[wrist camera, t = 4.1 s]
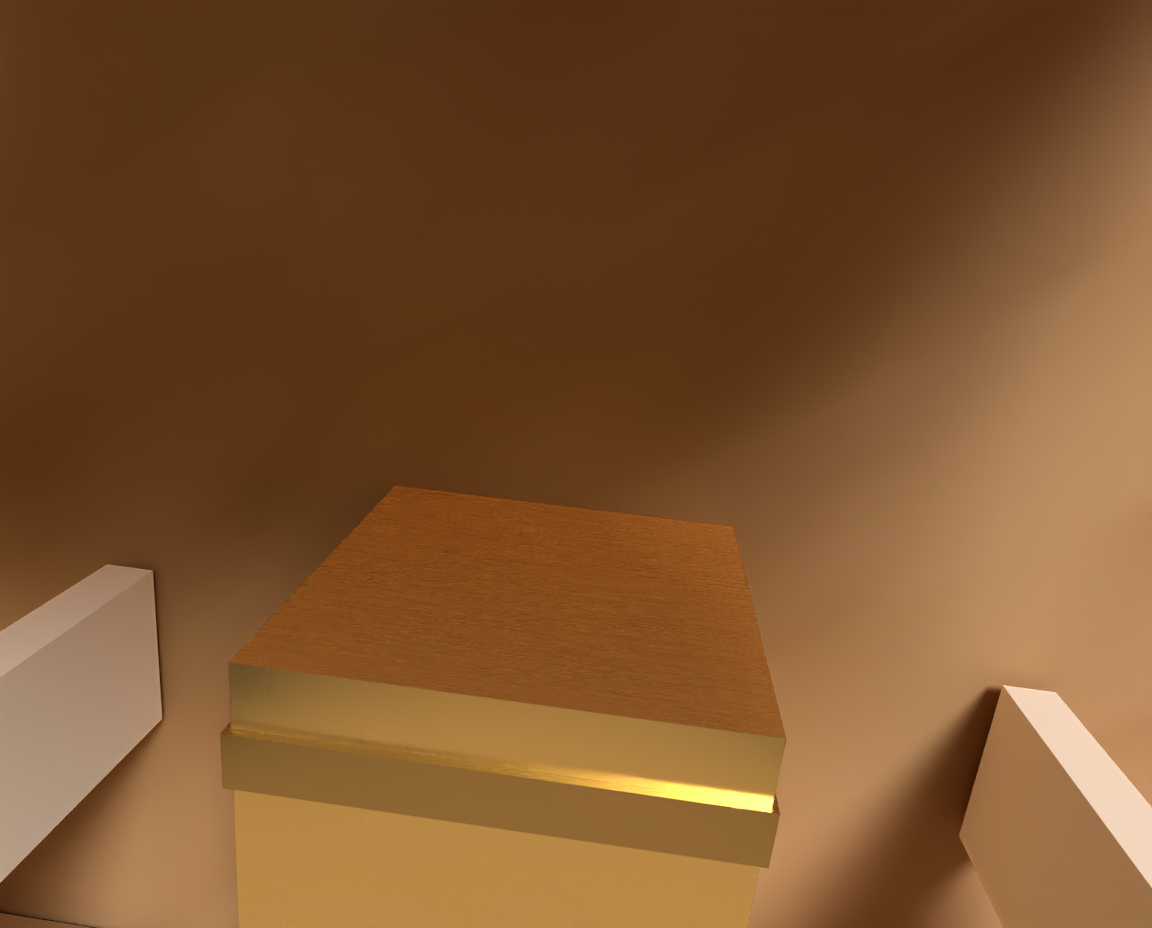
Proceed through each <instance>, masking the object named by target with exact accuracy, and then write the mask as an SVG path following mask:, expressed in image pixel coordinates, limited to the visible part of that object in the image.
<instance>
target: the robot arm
mask: <svg viewBox="0 0 1152 928" xmlns="http://www.w3.org/2000/svg"><path fill="white" fill-rule="evenodd" d="M161 720H162V707H161V691H160V675H159V659H158V644H157V628H156V612H155V596H154V581H153V570H146V569H138V568H131V567H124V566H116V565H109V564H107V565H105V566H103V567H102V568H100V569H99V570H97V571H95V572H94V573H92V574H91V575H89V576H88V577H86V578H84V579H83V580H81V581H80V582H78V583H76V584H75V585H73V586H72V587H70V588H68V589H67V590H65V591H64V592H62V593H61V594H59V595H57V596H56V597H54V598H53V599H51V600H49V601H48V602H46V603H45V604H43V605H42V606H40V607H38V608H37V609H35V610H34V611H32V612H30V613H29V614H27V615H26V616H24V617H22V618H21V619H19V620H18V621H16V622H15V623H13V624H11V625H10V626H8V627H7V628H5V629H3V630H2V631H0V883H1V882H2V881H3V880H4V879H5V878H6V876H7V875H8V874H9V873H10V872H11V871H12V870H13V869H14V868H15V867H16V866H17V865H18V864H19V863H20V862H21V861H22V860H23V859H24V858H25V857H26V856H27V855H28V854H29V853H30V852H31V851H32V850H33V849H34V848H35V847H36V846H37V845H38V844H39V843H40V842H41V841H42V840H43V839H44V838H45V837H46V836H47V835H48V834H49V833H50V832H51V831H52V830H53V829H54V828H55V827H56V826H57V825H58V824H59V823H60V822H61V821H62V820H63V819H64V818H65V817H66V816H67V815H68V814H69V813H70V812H71V811H72V810H73V809H74V808H75V807H76V806H77V805H78V804H79V803H80V802H81V801H82V800H83V799H84V798H85V797H86V796H87V794H88V793H89V792H90V791H91V790H92V789H93V788H94V787H95V786H96V785H97V784H98V783H99V782H100V781H101V780H102V779H103V778H104V777H105V776H106V775H107V774H108V773H109V772H110V771H111V770H112V769H113V768H114V767H115V766H116V765H117V764H118V763H119V762H120V761H121V760H122V759H123V758H124V757H125V756H126V755H127V754H128V753H129V752H130V751H131V750H132V749H133V748H134V747H135V746H136V745H137V744H138V743H139V742H140V741H141V740H142V739H143V738H144V737H145V736H146V735H147V734H148V733H149V732H150V731H151V730H152V729H153V728H154V727H155V726H156V725H157V724H158V723H159V722H160V721H161ZM959 837H960V839H961V841H962V843H963V845H964V847H965V849H966V851H967V854H968V856H969V858H970V860H971V862H972V864H973V866H974V868H975V870H976V872H977V874H978V876H979V878H980V880H981V882H982V884H983V887H984V889H985V891H986V893H987V895H988V897H989V899H990V901H991V903H992V905H993V907H994V909H995V911H996V913H997V915H998V917H999V919H1000V922H1001V924H1002V926H1003V928H1152V807H1151V806H1150V805H1149V803H1148V802H1147V801H1146V800H1145V799H1144V798H1143V796H1142V795H1141V794H1140V793H1139V792H1138V790H1137V789H1136V788H1135V787H1134V786H1133V784H1132V783H1131V782H1130V781H1129V780H1128V778H1127V777H1126V776H1125V775H1124V774H1123V772H1122V771H1121V770H1120V769H1119V768H1118V766H1117V765H1116V764H1115V763H1114V762H1113V760H1112V759H1111V758H1110V757H1109V756H1108V754H1107V753H1106V752H1105V751H1104V750H1103V748H1102V747H1101V746H1100V745H1099V744H1098V742H1097V741H1096V740H1095V739H1094V738H1093V736H1092V735H1091V734H1090V733H1089V732H1088V730H1087V729H1086V728H1085V727H1084V726H1083V724H1082V723H1081V722H1080V721H1079V720H1078V718H1077V717H1076V716H1075V715H1074V714H1073V712H1072V711H1071V710H1070V709H1069V708H1068V706H1067V705H1066V704H1065V703H1064V702H1063V700H1062V699H1061V698H1060V697H1059V696H1058V695H1057V693H1056V692H1049V691H1042V690H1034V689H1027V688H1020V687H1012V686H1005V685H1003V686H1002V690H1001V693H1000V697H999V700H998V704H997V707H996V710H995V714H994V717H993V721H992V724H991V728H990V731H989V734H988V738H987V741H986V745H985V748H984V752H983V755H982V758H981V762H980V765H979V769H978V772H977V776H976V779H975V782H974V786H973V789H972V793H971V796H970V800H969V803H968V807H967V810H966V813H965V817H964V820H963V824H962V827H961V831H960V834H959Z"/></svg>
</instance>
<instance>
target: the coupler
mask: <svg viewBox="0 0 1152 928" xmlns="http://www.w3.org/2000/svg"><path fill="white" fill-rule="evenodd" d="M229 686H230V712H231V722H230V723H229V724H228V726H227V727H226V728H225V729H224V730H223V732H222V733H221V734H220V735H221V758H222V781H223V788H225V789H232V790H234V816H235V842H236V868H237V893H238V919H239V928H747V927H748V922H749V918H750V913H751V908H752V903H753V898H754V893H755V888H756V884H757V879H758V874H759V869H760V867H763V868H769V864H770V859H771V854H772V849H773V845H774V840H775V835H776V830H777V826H778V821H779V816H780V812H779V807H778V802H777V798H776V793H775V792H776V787H777V782H778V777H779V772H780V767H781V762H782V758H783V753H784V748H785V743H786V736H785V732H784V728H783V724H782V720H781V716H780V712H779V708H778V704H777V700H776V696H775V692H774V688H773V684H772V680H771V676H770V672H769V668H768V664H767V660H766V656H765V652H764V648H763V644H762V640H761V636H760V632H759V628H758V624H757V620H756V616H755V612H754V608H753V604H752V600H751V596H750V592H749V588H748V584H747V580H746V576H745V572H744V568H743V564H742V560H741V556H740V552H739V548H738V544H737V540H736V536H735V532H734V528H733V527H731V526H723V525H715V524H706V523H698V522H690V521H682V520H674V519H666V518H658V517H650V516H641V515H633V514H625V513H617V512H609V511H601V510H593V509H585V508H577V507H568V506H560V505H552V504H544V503H536V502H528V501H520V500H512V499H504V498H495V497H487V496H479V495H471V494H463V493H455V492H447V491H439V490H431V489H422V488H414V487H406V486H398V485H395V486H394V487H393V488H392V489H391V490H390V491H389V493H388V494H387V495H386V496H385V497H384V498H383V499H382V500H381V501H380V502H379V503H378V504H377V505H376V506H375V507H374V508H373V509H372V511H371V512H370V513H369V514H368V515H367V516H366V517H365V518H364V519H363V520H362V521H361V522H360V523H359V524H358V525H357V526H356V528H355V529H354V530H353V531H352V532H351V533H350V534H349V535H348V536H347V537H346V538H345V539H344V540H343V541H342V542H341V543H340V545H339V546H338V547H337V548H336V549H335V550H334V551H333V552H332V553H331V554H330V555H329V556H328V557H327V558H326V559H325V560H324V561H323V563H322V564H321V565H320V566H319V567H318V568H317V569H316V570H315V571H314V572H313V573H312V574H311V575H310V576H309V577H308V578H307V580H306V581H305V582H304V583H303V584H302V585H301V586H300V587H299V588H298V589H297V590H296V591H295V592H294V593H293V594H292V595H291V597H290V598H289V599H288V600H287V601H286V602H285V603H284V604H283V605H282V606H281V607H280V608H279V609H278V610H277V611H276V612H275V614H274V615H273V616H272V617H271V618H270V619H269V620H268V621H267V622H266V623H265V624H264V625H263V626H262V627H261V628H260V629H259V630H258V632H257V633H256V634H255V635H254V636H253V637H252V638H251V639H250V640H249V641H248V642H247V643H246V644H245V645H244V646H243V647H242V649H241V650H240V651H239V652H238V653H237V654H236V655H235V656H234V657H233V658H232V659H231V660H230V661H229Z"/></svg>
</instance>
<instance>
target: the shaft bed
mask: <svg viewBox="0 0 1152 928" xmlns="http://www.w3.org/2000/svg"><path fill="white" fill-rule="evenodd" d="M0 928H92V927H85V926H79V925H73V924H67V923H60V922H54V921H48V920H42V919H35V918H29V917H23V916H16V915H10V914H4V913H0Z"/></svg>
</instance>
